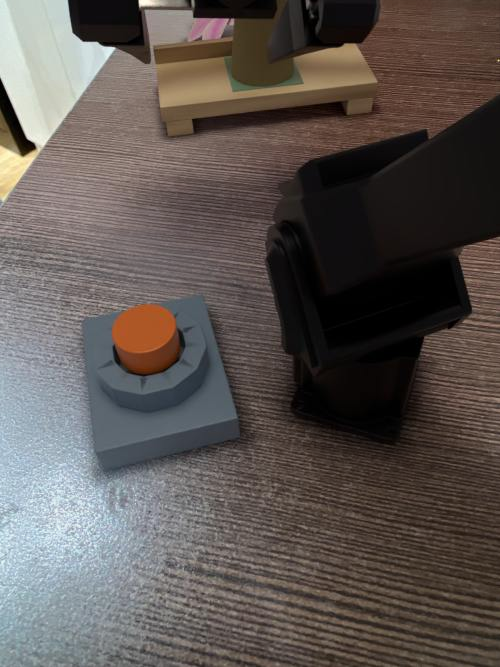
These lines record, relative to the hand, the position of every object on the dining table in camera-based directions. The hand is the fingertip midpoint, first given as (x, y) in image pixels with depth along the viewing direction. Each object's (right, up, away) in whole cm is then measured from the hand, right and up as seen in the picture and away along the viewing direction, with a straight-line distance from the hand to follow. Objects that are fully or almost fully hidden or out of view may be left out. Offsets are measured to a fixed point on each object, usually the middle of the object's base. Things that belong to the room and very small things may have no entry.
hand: (209, 57), depth 45 cm
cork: (+4, +4, +12) cm, 14 cm away
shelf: (+4, +3, +15) cm, 16 cm away
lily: (0, +12, +23) cm, 26 cm away
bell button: (-3, -21, -10) cm, 24 cm away
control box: (-3, -24, -7) cm, 25 cm away
